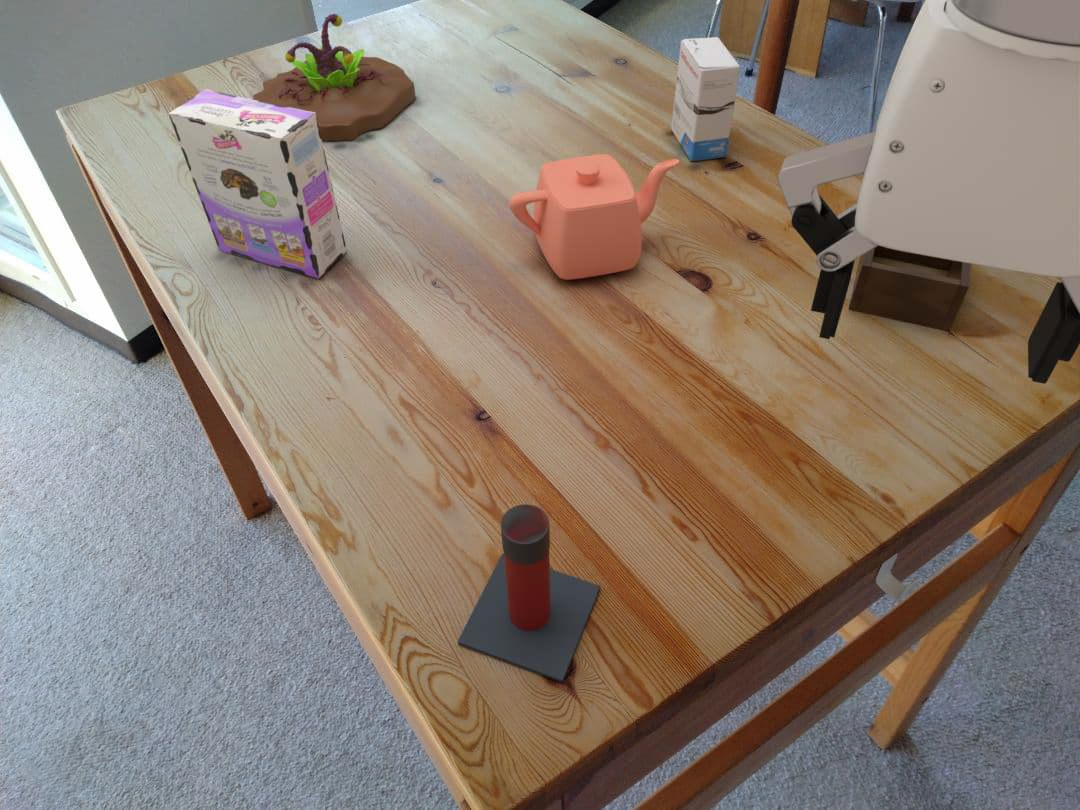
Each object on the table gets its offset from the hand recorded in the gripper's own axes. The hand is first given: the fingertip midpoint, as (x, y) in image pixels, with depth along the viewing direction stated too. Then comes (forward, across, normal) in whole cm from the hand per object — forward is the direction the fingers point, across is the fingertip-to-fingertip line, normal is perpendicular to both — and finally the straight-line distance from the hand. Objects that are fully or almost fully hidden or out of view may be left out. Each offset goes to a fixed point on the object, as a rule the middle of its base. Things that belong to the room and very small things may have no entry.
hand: (929, 341), depth 42 cm
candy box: (+26, +62, -25) cm, 72 cm away
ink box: (+26, +24, -63) cm, 72 cm away
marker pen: (+26, +20, +7) cm, 33 cm away
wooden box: (+27, -2, -41) cm, 49 cm away
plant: (+25, +74, -57) cm, 97 cm away
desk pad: (+26, +20, +7) cm, 34 cm away
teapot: (+26, +30, -37) cm, 54 cm away
